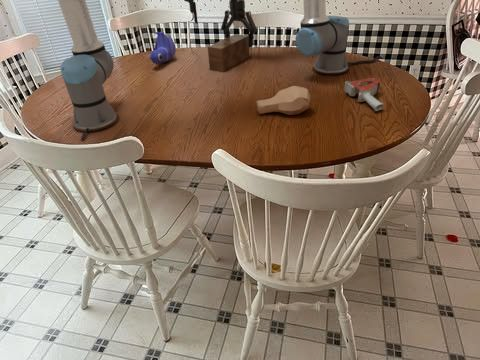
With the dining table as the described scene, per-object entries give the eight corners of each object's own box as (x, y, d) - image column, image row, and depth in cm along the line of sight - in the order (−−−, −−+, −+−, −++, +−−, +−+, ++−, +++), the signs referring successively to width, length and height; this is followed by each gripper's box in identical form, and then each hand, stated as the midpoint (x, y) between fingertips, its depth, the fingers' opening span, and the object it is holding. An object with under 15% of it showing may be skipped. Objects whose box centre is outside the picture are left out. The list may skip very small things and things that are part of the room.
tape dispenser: (379, 117, 128) (393, 93, 140) (382, 104, 124) (396, 81, 137) (332, 106, 135) (349, 84, 148) (334, 93, 132) (351, 72, 144)
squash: (314, 116, 128) (313, 95, 122) (259, 125, 130) (256, 105, 124) (308, 99, 136) (307, 78, 129) (257, 108, 138) (253, 88, 131)
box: (223, 71, 171) (221, 48, 165) (209, 69, 175) (207, 46, 168) (249, 57, 187) (248, 35, 181) (236, 55, 191) (235, 34, 185)
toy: (164, 64, 198) (143, 70, 176) (159, 31, 191) (137, 33, 169) (180, 63, 196) (162, 69, 173) (176, 30, 189) (156, 32, 167)
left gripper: (243, -54, 119) (246, 14, 131) (168, -49, 114) (178, 22, 127) (249, -53, 113) (251, 18, 125) (171, -47, 108) (181, 26, 121)
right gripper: (263, -1, 168) (264, 45, 180) (220, -2, 179) (224, 41, 192) (255, 2, 163) (256, 49, 175) (211, 0, 174) (215, 45, 187)
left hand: (215, 20), depth 126 cm, fingers open, 13 cm apart
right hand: (239, 45), depth 183 cm, fingers open, 13 cm apart
